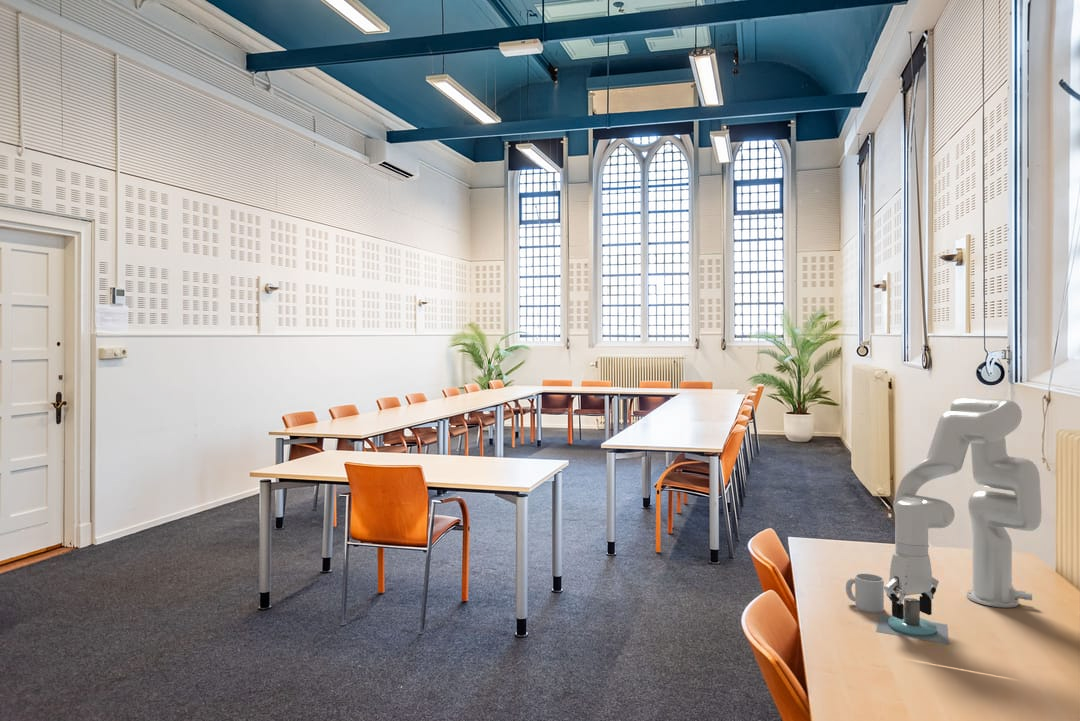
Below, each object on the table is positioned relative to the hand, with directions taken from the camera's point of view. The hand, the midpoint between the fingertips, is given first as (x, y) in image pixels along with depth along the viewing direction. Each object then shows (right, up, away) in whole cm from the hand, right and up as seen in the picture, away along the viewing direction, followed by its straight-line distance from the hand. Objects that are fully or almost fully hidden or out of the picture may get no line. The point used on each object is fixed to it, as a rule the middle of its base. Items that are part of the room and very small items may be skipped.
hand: (911, 615), depth 176 cm
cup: (-5, -4, +15) cm, 17 cm away
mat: (0, -4, 0) cm, 4 cm away
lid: (0, -3, 0) cm, 3 cm away
